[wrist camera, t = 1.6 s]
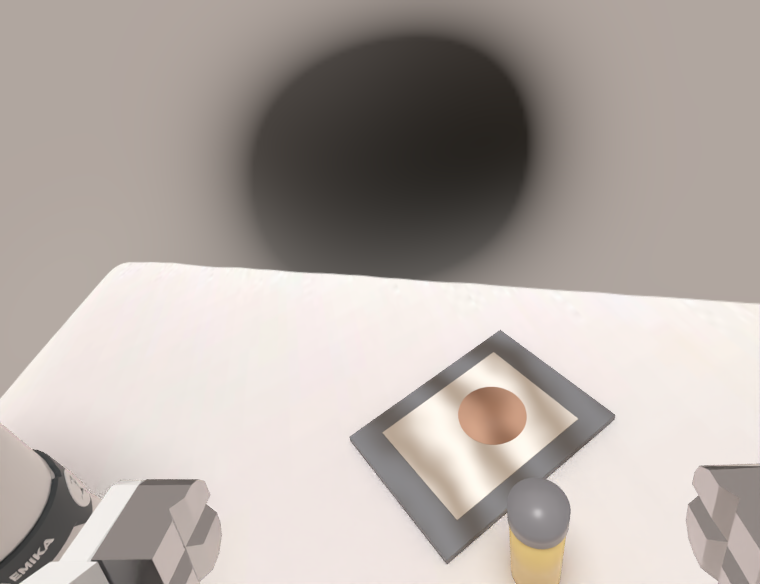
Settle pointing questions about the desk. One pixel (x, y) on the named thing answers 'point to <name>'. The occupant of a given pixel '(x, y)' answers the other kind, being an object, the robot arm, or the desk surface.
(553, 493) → the marker
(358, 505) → the desk surface
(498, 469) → the grey metal tray
